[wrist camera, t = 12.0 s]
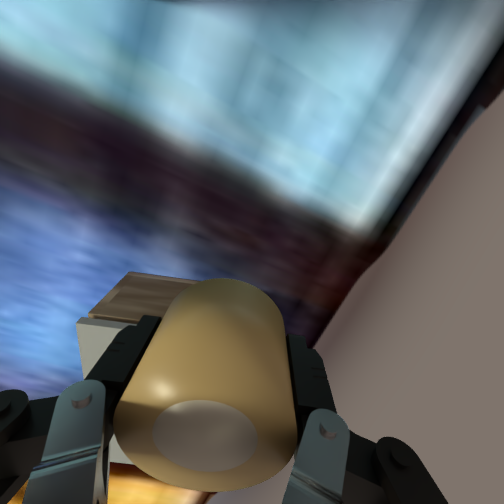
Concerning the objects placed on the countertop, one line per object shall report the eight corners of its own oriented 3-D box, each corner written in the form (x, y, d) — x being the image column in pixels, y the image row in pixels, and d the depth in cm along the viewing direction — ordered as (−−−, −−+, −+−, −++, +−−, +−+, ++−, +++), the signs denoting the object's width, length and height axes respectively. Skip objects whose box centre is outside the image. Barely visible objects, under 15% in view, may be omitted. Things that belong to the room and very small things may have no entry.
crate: (129, 271, 31) (88, 313, 24) (254, 288, 31) (251, 335, 24) (133, 389, 38) (101, 450, 31) (235, 403, 38) (229, 466, 31)
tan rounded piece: (166, 269, 12) (106, 356, 7) (295, 287, 12) (316, 383, 8) (164, 367, 14) (116, 483, 10) (273, 381, 14) (280, 501, 10)
